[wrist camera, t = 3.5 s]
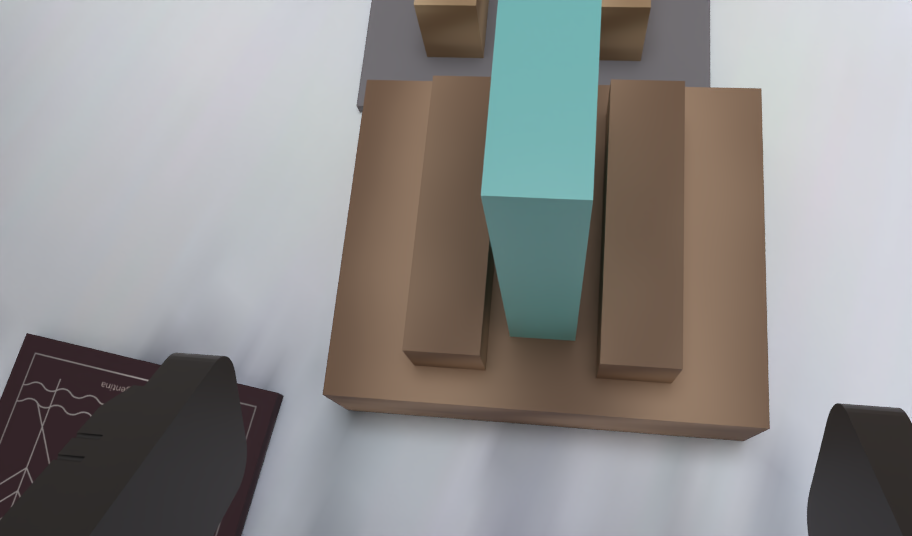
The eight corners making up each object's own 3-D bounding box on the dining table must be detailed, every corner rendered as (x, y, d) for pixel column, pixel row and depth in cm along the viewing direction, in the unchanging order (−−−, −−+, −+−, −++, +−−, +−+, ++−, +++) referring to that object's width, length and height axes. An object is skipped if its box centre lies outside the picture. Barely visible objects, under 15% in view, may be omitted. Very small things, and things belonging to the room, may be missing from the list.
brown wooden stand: (348, 409, 26) (302, 382, 21) (385, 124, 29) (352, 43, 24) (743, 440, 24) (791, 418, 19) (739, 135, 27) (779, 50, 22)
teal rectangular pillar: (509, 336, 23) (480, 195, 13) (524, 141, 24) (507, -105, 15) (575, 340, 22) (592, 200, 13) (584, 144, 24) (606, -106, 15)
